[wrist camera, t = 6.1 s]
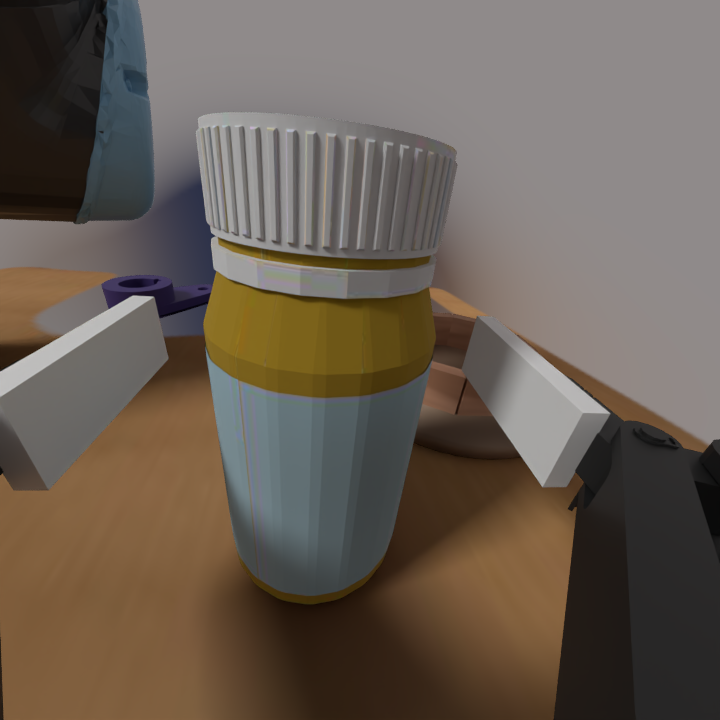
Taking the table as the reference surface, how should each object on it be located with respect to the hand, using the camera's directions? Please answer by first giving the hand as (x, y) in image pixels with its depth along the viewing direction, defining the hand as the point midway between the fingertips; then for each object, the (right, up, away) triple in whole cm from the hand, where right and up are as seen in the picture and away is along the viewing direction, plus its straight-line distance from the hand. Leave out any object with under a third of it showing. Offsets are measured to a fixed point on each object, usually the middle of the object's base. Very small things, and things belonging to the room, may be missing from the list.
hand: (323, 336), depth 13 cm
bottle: (-1, -9, +2) cm, 9 cm away
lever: (-21, +5, +24) cm, 33 cm away
